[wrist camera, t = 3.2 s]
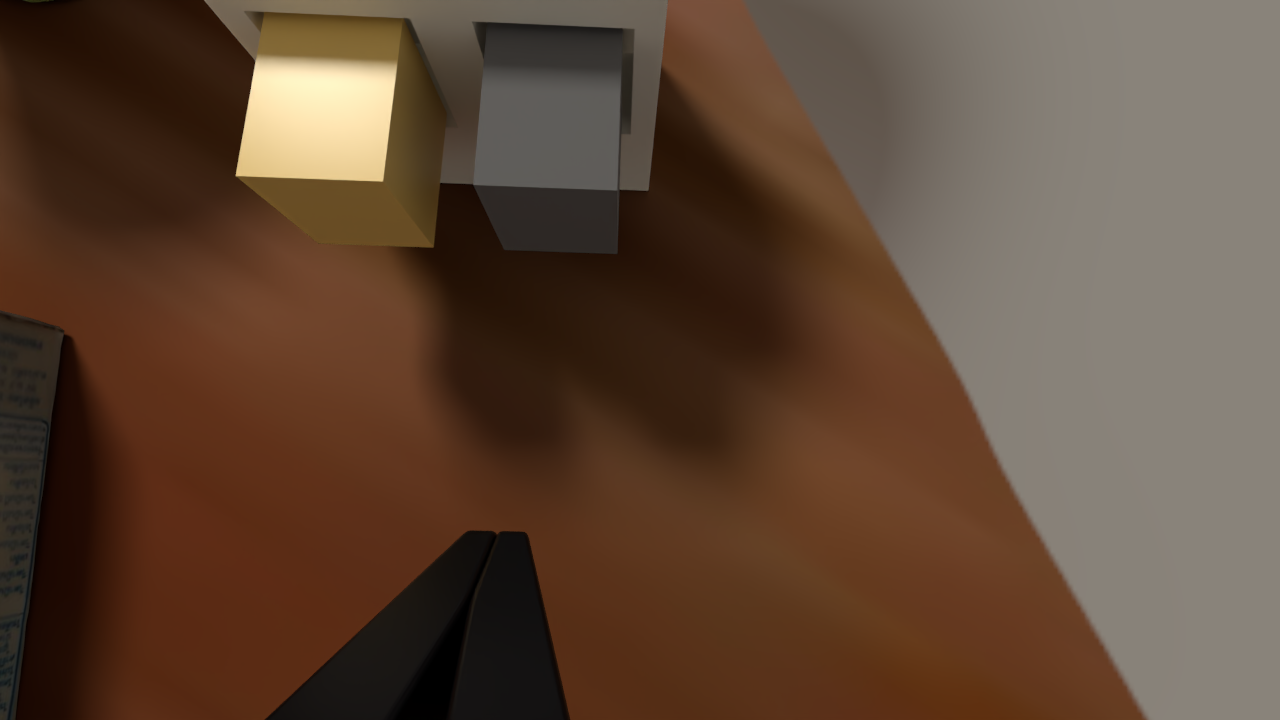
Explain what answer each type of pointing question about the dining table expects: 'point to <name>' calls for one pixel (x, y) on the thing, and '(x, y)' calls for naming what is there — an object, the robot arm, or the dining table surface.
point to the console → (454, 56)
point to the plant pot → (37, 0)
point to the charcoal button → (551, 136)
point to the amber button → (345, 129)
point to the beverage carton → (21, 477)
